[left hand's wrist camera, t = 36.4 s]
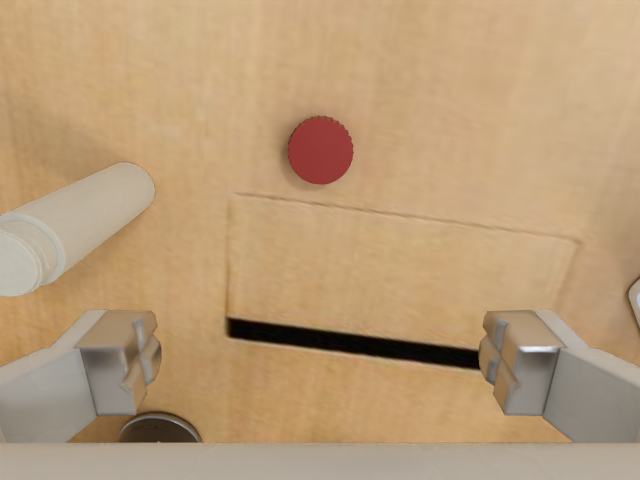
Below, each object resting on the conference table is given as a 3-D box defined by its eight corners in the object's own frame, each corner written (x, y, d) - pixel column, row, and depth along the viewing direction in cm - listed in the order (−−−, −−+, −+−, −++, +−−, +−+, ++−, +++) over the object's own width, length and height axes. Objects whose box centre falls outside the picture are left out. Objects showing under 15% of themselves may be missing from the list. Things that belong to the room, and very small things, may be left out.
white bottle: (155, 215, 38) (48, 308, 23) (104, 209, 37) (-37, 298, 23) (154, 165, 36) (39, 231, 21) (101, 159, 36) (-54, 219, 21)
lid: (365, 147, 35) (367, 152, 33) (321, 191, 37) (320, 198, 35) (320, 101, 34) (320, 103, 32) (276, 148, 35) (273, 153, 33)
